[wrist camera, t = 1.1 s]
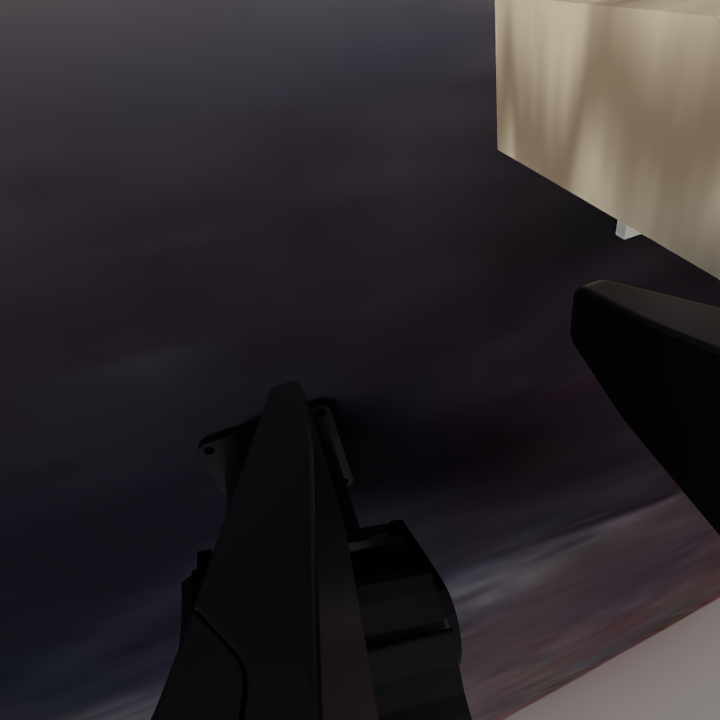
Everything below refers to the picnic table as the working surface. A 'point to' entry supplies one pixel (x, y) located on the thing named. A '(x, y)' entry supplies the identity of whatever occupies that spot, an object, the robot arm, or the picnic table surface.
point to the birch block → (619, 110)
